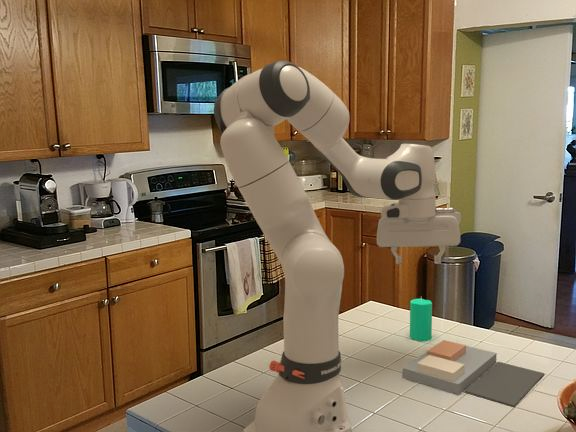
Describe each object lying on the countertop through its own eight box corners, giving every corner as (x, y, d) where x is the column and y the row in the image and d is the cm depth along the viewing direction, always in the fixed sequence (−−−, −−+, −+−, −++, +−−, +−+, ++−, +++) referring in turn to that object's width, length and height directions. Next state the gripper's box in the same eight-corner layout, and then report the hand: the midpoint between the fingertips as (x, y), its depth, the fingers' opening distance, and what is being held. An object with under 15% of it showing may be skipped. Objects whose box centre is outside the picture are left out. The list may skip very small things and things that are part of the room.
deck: (458, 394, 126) (458, 384, 126) (402, 377, 135) (402, 367, 135) (496, 362, 143) (496, 353, 142) (444, 349, 152) (444, 340, 151)
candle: (426, 343, 156) (426, 301, 154) (406, 338, 160) (406, 297, 158) (435, 336, 161) (435, 295, 159) (415, 332, 165) (415, 292, 163)
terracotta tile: (450, 364, 136) (450, 356, 136) (427, 358, 140) (427, 350, 140) (465, 352, 143) (466, 345, 142) (443, 347, 147) (443, 339, 146)
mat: (514, 407, 120) (514, 405, 120) (464, 392, 127) (464, 390, 127) (544, 374, 135) (544, 373, 135) (498, 363, 142) (498, 361, 142)
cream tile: (464, 372, 132) (464, 364, 131) (453, 381, 127) (453, 373, 127) (428, 362, 138) (428, 354, 137) (416, 371, 133) (416, 363, 133)
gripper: (459, 205, 141) (459, 259, 143) (375, 207, 145) (377, 260, 147) (462, 209, 135) (463, 266, 137) (375, 211, 139) (377, 267, 141)
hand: (418, 263), depth 142 cm, fingers open, 8 cm apart
